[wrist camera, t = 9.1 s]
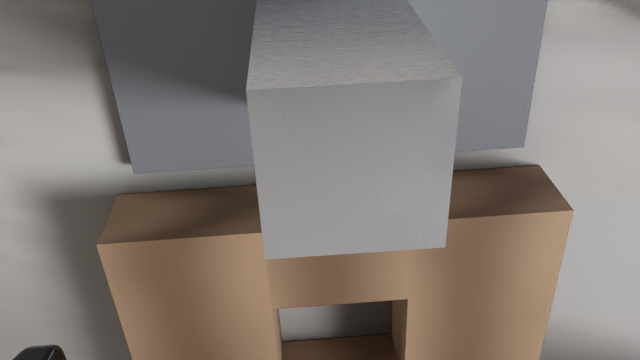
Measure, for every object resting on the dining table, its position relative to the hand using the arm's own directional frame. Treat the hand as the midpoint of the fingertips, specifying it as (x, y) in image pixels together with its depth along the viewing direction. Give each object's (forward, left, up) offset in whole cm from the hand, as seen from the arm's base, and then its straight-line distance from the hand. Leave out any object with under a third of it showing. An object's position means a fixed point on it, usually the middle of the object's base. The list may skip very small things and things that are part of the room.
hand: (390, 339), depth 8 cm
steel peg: (0, 0, -12) cm, 12 cm away
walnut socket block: (0, +11, -13) cm, 17 cm away
